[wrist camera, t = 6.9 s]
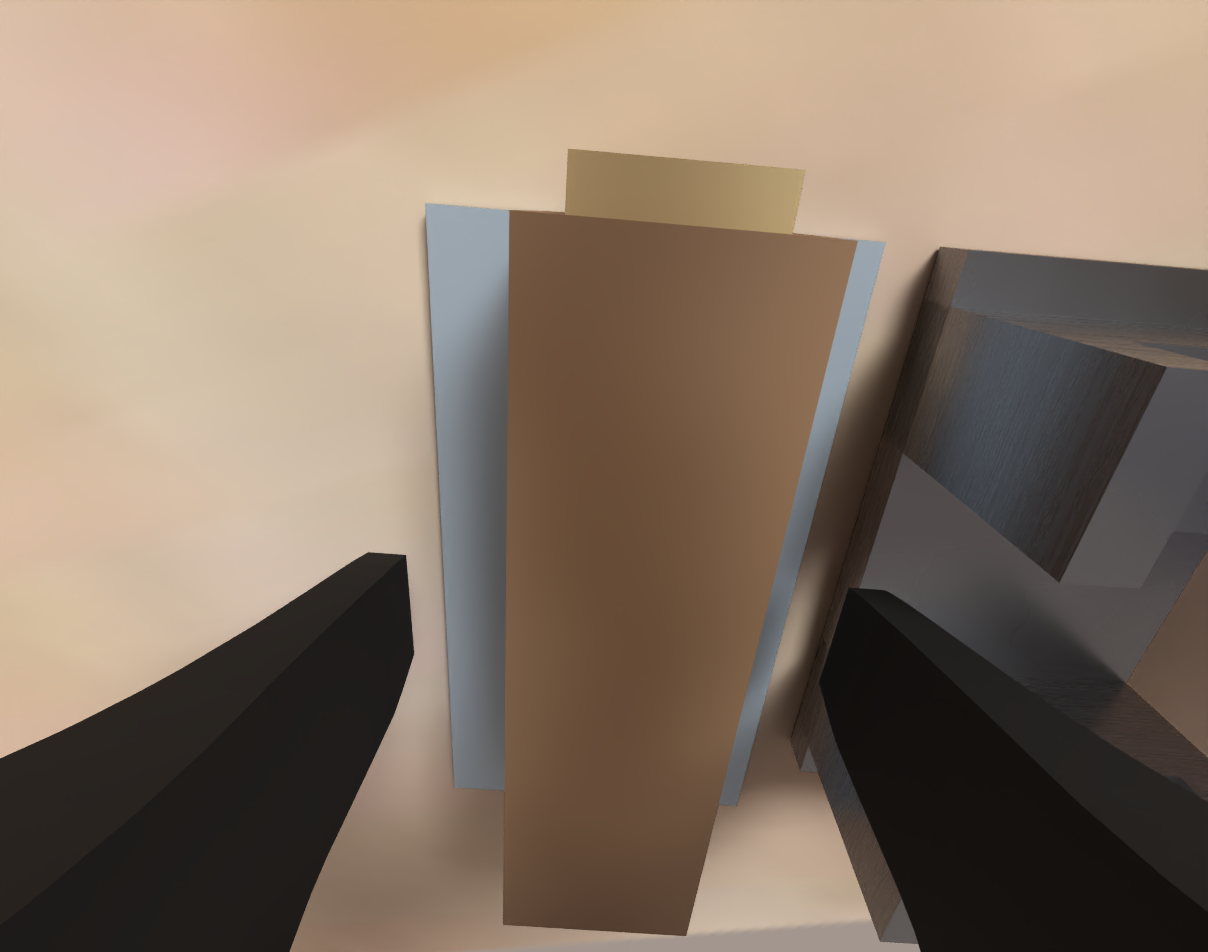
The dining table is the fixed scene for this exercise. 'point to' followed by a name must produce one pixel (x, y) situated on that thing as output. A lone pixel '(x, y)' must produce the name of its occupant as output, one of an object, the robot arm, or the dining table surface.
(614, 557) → the rail
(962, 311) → the stand
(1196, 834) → the robot arm
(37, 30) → the dining table surface
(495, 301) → the mat
